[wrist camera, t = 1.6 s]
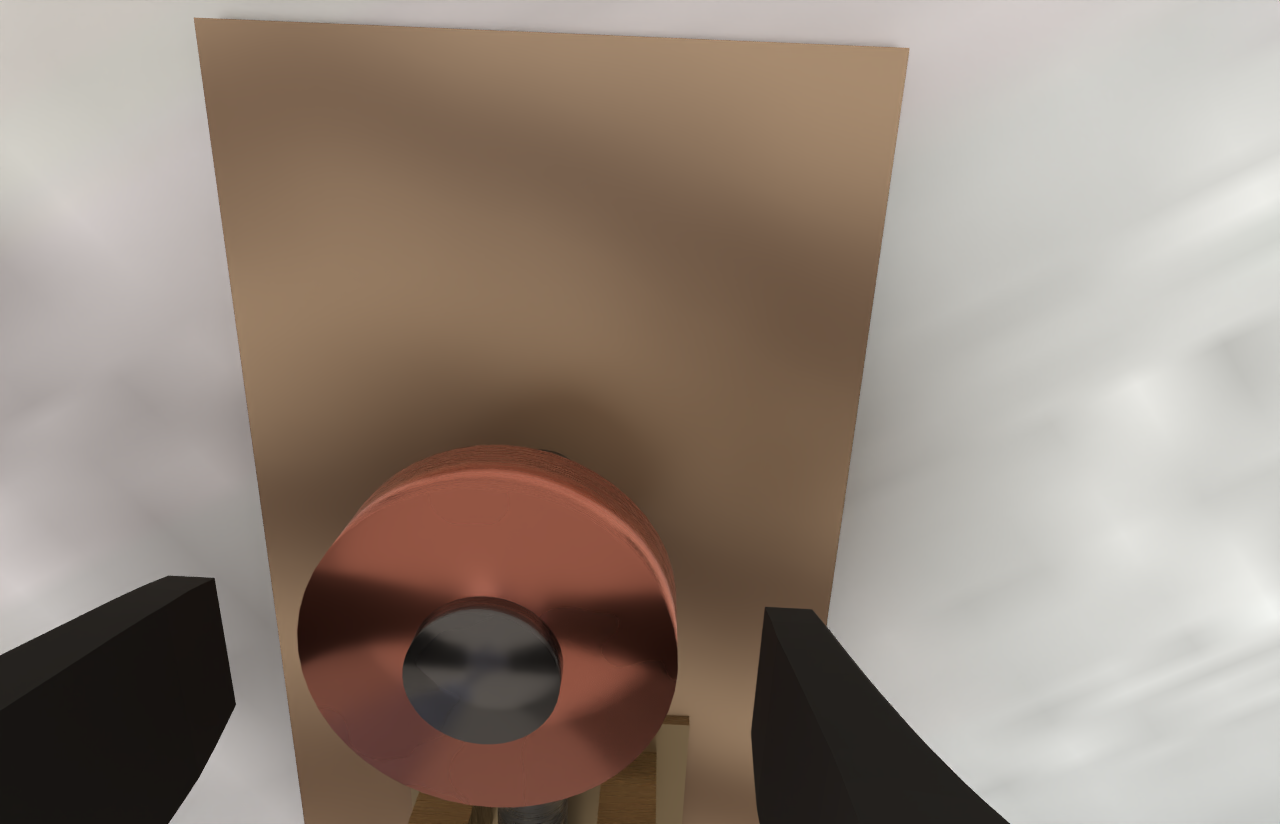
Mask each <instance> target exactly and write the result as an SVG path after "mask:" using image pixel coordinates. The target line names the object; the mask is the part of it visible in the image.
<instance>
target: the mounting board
mask: <svg viewBox="0 0 1280 824" xmlns="http://www.w3.org/2000/svg"><path fill="white" fill-rule="evenodd" d="M194 23H195V30H196V38H197V45H198V52H199V59H200V67H201V74H202V81H203V88H204V96H205V103H206V110H207V118H208V125H209V132H210V139H211V147H212V154H213V161H214V168H215V176H216V183H217V190H218V197H219V205H220V212H221V219H222V226H223V234H224V241H225V248H226V256H227V263H228V270H229V277H230V285H231V292H232V299H233V306H234V314H235V321H236V328H237V335H238V343H239V350H240V357H241V364H242V372H243V379H244V386H245V394H246V401H247V408H248V415H249V423H250V430H251V437H252V444H253V452H254V459H255V466H256V473H257V481H258V488H259V495H260V502H261V510H262V517H263V524H264V532H265V539H266V546H267V553H268V561H269V568H270V575H271V582H272V590H273V597H274V604H275V611H276V619H277V626H278V633H279V640H280V648H281V655H282V662H283V670H284V677H285V684H286V691H287V699H288V706H289V713H290V720H291V728H292V735H293V742H294V749H295V757H296V764H297V771H298V778H299V786H300V793H301V800H302V808H303V815H304V822H305V824H408V822H409V819H410V816H411V813H412V811H413V810H412V797H411V788H410V787H408V786H406V785H403V784H401V783H399V782H398V781H396V780H394V779H392V778H390V777H389V776H387V775H385V774H383V773H382V772H380V771H379V770H377V769H376V768H374V767H373V766H372V765H370V764H369V763H367V762H366V761H364V760H363V759H362V758H361V757H360V756H359V755H357V754H356V753H355V752H354V751H353V750H352V749H351V748H349V747H348V746H347V745H346V744H345V743H344V742H343V740H342V739H341V738H340V737H339V736H338V735H337V734H336V733H335V732H334V730H333V729H332V728H331V727H330V725H329V724H328V722H327V721H326V720H325V718H324V717H323V715H322V714H321V713H320V711H319V709H318V707H317V705H316V703H315V702H314V700H313V698H312V696H311V694H310V692H309V689H308V687H307V684H306V681H305V678H304V676H303V673H302V668H301V663H300V659H299V654H298V640H297V627H298V618H299V610H300V606H301V602H302V599H303V595H304V592H305V589H306V587H307V585H308V582H309V580H310V578H311V576H312V574H313V572H314V570H315V568H316V567H317V565H318V564H319V562H320V561H321V559H322V558H323V557H324V555H325V554H326V552H327V551H328V550H329V548H330V547H331V546H332V544H333V543H334V542H335V540H336V539H337V538H338V536H339V535H340V534H341V532H342V531H343V530H344V529H345V527H346V526H347V525H348V523H349V522H350V521H351V519H352V518H353V517H354V515H355V514H356V513H357V512H358V510H359V509H360V508H361V506H362V505H363V504H364V502H365V501H366V500H367V499H368V498H369V497H370V496H371V495H372V494H373V493H374V492H375V490H376V489H377V488H378V487H379V486H381V485H382V484H383V483H384V482H386V481H387V480H388V479H389V478H391V477H392V476H393V475H394V474H396V473H397V472H399V471H401V470H402V469H404V468H406V467H408V466H409V465H411V464H413V463H415V462H417V461H419V460H422V459H424V458H427V457H429V456H431V455H434V454H437V453H441V452H444V451H448V450H452V449H456V448H462V447H469V446H476V445H511V446H520V447H528V448H533V449H545V450H551V451H555V452H557V453H560V454H562V455H564V456H566V457H567V458H569V459H570V460H572V461H575V462H577V463H579V464H581V465H583V466H585V467H587V468H589V469H591V470H593V471H595V472H596V473H598V474H599V475H601V476H602V477H604V478H605V479H607V480H608V481H610V482H611V483H613V484H614V485H615V486H616V487H617V488H619V489H620V490H621V491H622V492H623V493H624V494H626V495H627V496H628V497H629V498H630V499H631V500H632V501H633V502H634V503H635V504H636V505H637V507H638V508H639V509H640V510H641V511H642V512H643V513H644V514H645V515H646V517H647V518H648V520H649V521H650V523H651V524H652V526H653V527H654V529H655V530H656V532H657V533H658V535H659V537H660V539H661V541H662V543H663V545H664V547H665V549H666V552H667V554H668V557H669V561H670V564H671V567H672V570H673V575H674V581H675V587H676V607H677V646H678V674H677V680H676V687H675V693H674V696H673V699H672V702H671V705H670V708H669V711H668V713H667V715H678V716H689V724H690V726H689V739H688V752H687V765H686V777H685V790H684V803H683V816H682V824H760V823H759V818H758V813H757V806H756V794H755V782H754V770H753V756H752V742H751V726H752V717H753V709H754V700H755V691H756V682H757V673H758V664H759V655H760V646H761V637H762V628H763V619H764V610H765V607H781V608H800V609H812V610H813V611H814V612H815V613H816V614H817V615H818V616H819V618H820V619H821V620H822V621H823V623H824V624H825V625H827V618H828V611H829V604H830V597H831V590H832V583H833V576H834V569H835V562H836V555H837V549H838V542H839V535H840V528H841V521H842V514H843V507H844V500H845V493H846V486H847V479H848V472H849V465H850V458H851V451H852V444H853V437H854V430H855V424H856V417H857V410H858V403H859V396H860V389H861V382H862V375H863V368H864V361H865V354H866V347H867V340H868V333H869V326H870V319H871V312H872V305H873V298H874V292H875V285H876V278H877V271H878V264H879V257H880V250H881V243H882V236H883V229H884V222H885V215H886V208H887V201H888V194H889V187H890V180H891V173H892V166H893V160H894V153H895V146H896V139H897V132H898V125H899V118H900V111H901V104H902V97H903V90H904V83H905V76H906V69H907V62H908V55H909V48H895V47H872V46H848V45H825V44H801V43H777V42H754V41H730V40H707V39H683V38H660V37H636V36H613V35H589V34H566V33H542V32H519V31H495V30H472V29H448V28H425V27H401V26H378V25H354V24H331V23H307V22H283V21H260V20H236V19H213V18H194Z"/></svg>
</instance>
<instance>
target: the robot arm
mask: <svg viewBox="0 0 1280 824" xmlns="http://www.w3.org/2000/svg"><path fill="white" fill-rule="evenodd" d="M235 706H236V702H235V697H234V691H233V685H232V679H231V673H230V667H229V661H228V655H227V649H226V643H225V637H224V631H223V625H222V620H221V614H220V608H219V602H218V596H217V590H216V584H215V578H204V577H185V576H167V577H164V578H161V579H159V580H156V581H154V582H151V583H149V584H147V585H144V586H142V587H140V588H137V589H135V590H133V591H131V592H129V593H127V594H124V595H122V596H120V597H118V598H116V599H114V600H112V601H110V602H108V603H105V604H103V605H101V606H99V607H97V608H95V609H93V610H91V611H89V612H87V613H85V614H83V615H81V616H79V617H77V618H75V619H73V620H71V621H69V622H67V623H65V624H63V625H61V626H59V627H57V628H55V629H53V630H51V631H49V632H47V633H45V634H43V635H41V636H39V637H36V638H34V639H32V640H30V641H28V642H26V643H24V644H22V645H20V646H18V647H16V648H14V649H12V650H10V651H8V652H6V653H4V654H2V655H0V824H168V823H169V822H170V820H171V819H172V817H173V816H174V814H175V813H176V812H177V810H178V809H179V807H180V806H181V804H182V803H183V801H184V800H185V798H186V797H187V795H188V794H189V792H190V791H191V789H192V787H193V786H194V784H195V783H196V781H197V780H198V778H199V777H200V775H201V773H202V771H203V769H204V767H205V765H206V763H207V762H208V760H209V758H210V756H211V754H212V752H213V750H214V748H215V747H216V745H217V743H218V741H219V739H220V736H221V734H222V732H223V730H224V728H225V726H226V724H227V722H228V720H229V718H230V716H231V714H232V712H233V710H234V708H235ZM751 742H752V756H753V770H754V782H755V794H756V806H757V813H758V818H759V823H760V824H1010V823H1009V822H1007V821H1006V820H1005V819H1004V818H1003V817H1002V816H1001V815H999V814H998V813H997V812H996V811H995V810H994V809H993V808H991V807H990V806H989V805H988V804H987V803H986V802H985V801H984V800H983V799H981V798H980V797H979V796H978V795H977V794H976V793H975V792H974V791H973V790H972V789H971V788H970V787H969V786H968V785H966V784H965V783H964V782H963V781H962V780H961V779H960V778H959V777H958V776H957V775H956V774H955V773H954V772H953V771H952V770H951V769H950V768H949V767H948V766H947V765H946V764H945V763H944V762H943V761H942V760H941V759H940V758H939V757H938V756H937V755H936V754H935V753H934V752H933V751H932V750H931V749H930V748H929V746H928V745H927V744H926V743H925V742H924V741H923V740H922V739H921V738H920V737H919V736H918V735H917V734H916V733H915V732H914V730H913V729H912V728H911V727H910V726H909V725H908V724H907V723H906V721H905V720H904V719H903V718H902V717H901V716H900V715H899V714H898V712H897V711H896V710H895V709H894V708H893V707H892V706H891V704H890V703H889V702H888V701H887V700H886V699H885V698H884V697H883V695H882V694H881V693H880V692H879V691H878V690H877V688H876V687H875V686H874V685H873V684H872V682H871V681H870V680H869V679H868V678H867V676H866V675H865V674H864V673H863V672H862V670H861V669H860V668H859V667H858V665H857V664H856V663H855V662H854V660H853V659H852V658H851V657H850V656H849V654H848V653H847V652H846V650H845V649H844V648H843V647H842V645H841V644H840V643H839V642H838V640H837V639H836V638H835V637H834V635H833V634H832V633H831V631H830V630H829V629H828V628H827V626H826V625H825V624H824V623H823V621H822V620H821V619H820V618H819V616H818V615H817V614H816V613H815V612H814V611H813V610H812V609H800V608H781V607H765V610H764V619H763V628H762V637H761V646H760V655H759V664H758V673H757V682H756V691H755V700H754V709H753V717H752V726H751Z"/></svg>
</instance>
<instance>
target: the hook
mask: <svg viewBox="0 0 1280 824" xmlns="http://www.w3.org/2000/svg"><path fill="white" fill-rule="evenodd" d="M297 640H298V654H299V659H300V663H301V668H302V673H303V676H304V678H305V681H306V684H307V687H308V689H309V692H310V694H311V696H312V698H313V700H314V702H315V703H316V705H317V707H318V709H319V711H320V713H321V714H322V715H323V717H324V718H325V720H326V721H327V722H328V724H329V725H330V727H331V728H332V729H333V730H334V732H335V733H336V734H337V735H338V736H339V737H340V738H341V739H342V740H343V742H344V743H345V744H346V745H347V746H348V747H349V748H351V749H352V750H353V751H354V752H355V753H356V754H357V755H359V756H360V757H361V758H362V759H363V760H364V761H366V762H367V763H369V764H370V765H372V766H373V767H374V768H376V769H377V770H379V771H380V772H382V773H383V774H385V775H387V776H389V777H390V778H392V779H394V780H396V781H398V782H399V783H401V784H403V785H406V786H408V787H410V788H413V789H415V790H417V791H420V792H422V793H424V794H428V795H431V796H434V797H437V798H441V799H444V800H447V801H452V802H457V803H462V804H467V805H475V806H484V807H498V824H567V823H568V798H569V797H572V796H575V795H578V794H581V793H583V792H585V791H587V790H589V789H592V788H594V787H596V786H598V785H600V784H602V783H603V782H605V781H607V780H608V779H610V778H612V777H613V776H615V775H616V774H618V773H619V772H620V771H622V770H623V769H624V768H625V767H627V766H628V765H629V764H630V763H632V762H633V761H634V760H635V759H636V758H637V757H638V756H639V755H640V754H641V753H642V752H643V750H644V749H645V748H646V747H647V746H648V745H649V744H650V742H651V741H652V739H653V738H654V736H655V735H656V734H657V732H658V731H659V729H660V727H661V725H662V723H663V721H664V719H665V717H666V715H667V713H668V711H669V708H670V705H671V702H672V699H673V696H674V693H675V687H676V680H677V674H678V646H677V607H676V587H675V581H674V575H673V570H672V567H671V564H670V561H669V557H668V554H667V552H666V549H665V547H664V545H663V543H662V541H661V539H660V537H659V535H658V533H657V532H656V530H655V529H654V527H653V526H652V524H651V523H650V521H649V520H648V518H647V517H646V515H645V514H644V513H643V512H642V511H641V510H640V509H639V508H638V507H637V505H636V504H635V503H634V502H633V501H632V500H631V499H630V498H629V497H628V496H627V495H626V494H624V493H623V492H622V491H621V490H620V489H619V488H617V487H616V486H615V485H614V484H613V483H611V482H610V481H608V480H607V479H605V478H604V477H602V476H601V475H599V474H598V473H596V472H595V471H593V470H591V469H589V468H587V467H585V466H583V465H581V464H579V463H577V462H575V461H572V460H570V459H569V458H567V457H566V456H564V455H562V454H560V453H557V452H555V451H551V450H545V449H533V448H528V447H520V446H511V445H476V446H469V447H462V448H456V449H452V450H448V451H444V452H441V453H437V454H434V455H431V456H429V457H427V458H424V459H422V460H419V461H417V462H415V463H413V464H411V465H409V466H408V467H406V468H404V469H402V470H401V471H399V472H397V473H396V474H394V475H393V476H392V477H391V478H389V479H388V480H387V481H386V482H384V483H383V484H382V485H381V486H379V487H378V488H377V489H376V490H375V492H374V493H373V494H372V495H371V496H370V497H369V498H368V499H367V500H366V501H365V502H364V504H363V505H362V506H361V508H360V509H359V510H358V512H357V513H356V514H355V515H354V517H353V518H352V519H351V521H350V522H349V523H348V525H347V526H346V527H345V529H344V530H343V531H342V532H341V534H340V535H339V536H338V538H337V539H336V540H335V542H334V543H333V544H332V546H331V547H330V548H329V550H328V551H327V552H326V554H325V555H324V557H323V558H322V559H321V561H320V562H319V564H318V565H317V567H316V568H315V570H314V572H313V574H312V576H311V578H310V580H309V582H308V585H307V587H306V589H305V592H304V595H303V599H302V602H301V606H300V610H299V618H298V627H297Z"/></svg>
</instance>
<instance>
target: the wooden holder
mask: <svg viewBox="0 0 1280 824" xmlns="http://www.w3.org/2000/svg"><path fill="white" fill-rule="evenodd" d="M689 726H690V724H689V716H678V715H666V717H665V719H664V721H663V723H662V725H661V727H660V729H659V731H658V732H657V734H656V735H655V736H654V738H653V739H652V741H651V742H650V744H649V745H648V746H647V747H646V748H645V749H644V750H643V752H642V753H641V754H640V755H639V756H638V757H637V758H636V759H635V760H634V761H633V762H632V763H630V764H629V765H628V766H627V767H625V768H624V769H623V770H622V771H620V772H619V773H618V774H616V775H615V776H613V777H612V778H610V779H608V780H607V781H605V782H603V783H602V784H600V785H598V786H596V787H594V788H592V789H589V790H587V791H585V792H583V793H581V794H578V795H575V796H572V797H569V798H568V823H567V824H682V816H683V803H684V790H685V777H686V765H687V752H688V739H689ZM411 797H412V810H413V811H412V813H411V816H410V819H409V822H408V824H498V807H484V806H475V805H467V804H462V803H457V802H452V801H447V800H444V799H441V798H437V797H434V796H431V795H428V794H424V793H422V792H420V791H417V790H415V789H413V788H411Z"/></svg>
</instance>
